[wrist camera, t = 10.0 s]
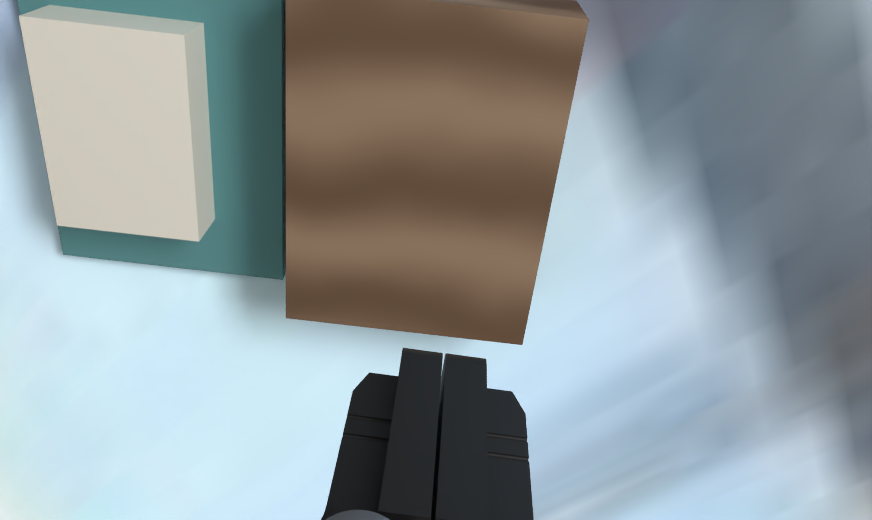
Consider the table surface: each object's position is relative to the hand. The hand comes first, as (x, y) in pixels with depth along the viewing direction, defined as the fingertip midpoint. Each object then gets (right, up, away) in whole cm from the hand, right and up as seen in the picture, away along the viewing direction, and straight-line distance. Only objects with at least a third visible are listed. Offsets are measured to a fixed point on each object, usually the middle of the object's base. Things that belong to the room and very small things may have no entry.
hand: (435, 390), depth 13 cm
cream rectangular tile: (-15, +8, +20) cm, 26 cm away
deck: (-1, +8, +23) cm, 24 cm away
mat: (-13, +9, +23) cm, 28 cm away
